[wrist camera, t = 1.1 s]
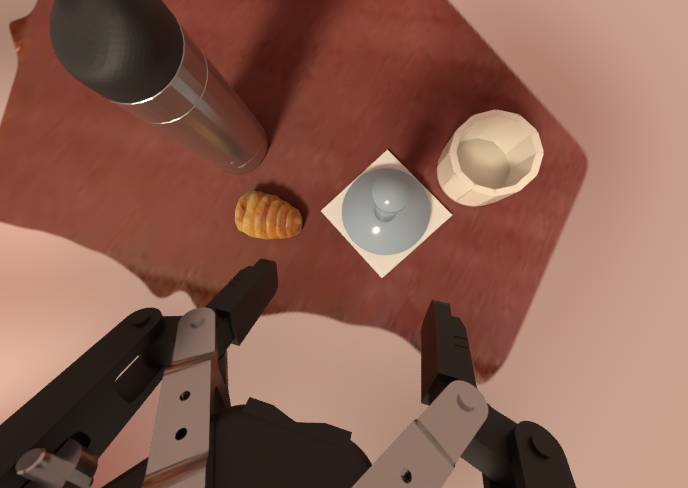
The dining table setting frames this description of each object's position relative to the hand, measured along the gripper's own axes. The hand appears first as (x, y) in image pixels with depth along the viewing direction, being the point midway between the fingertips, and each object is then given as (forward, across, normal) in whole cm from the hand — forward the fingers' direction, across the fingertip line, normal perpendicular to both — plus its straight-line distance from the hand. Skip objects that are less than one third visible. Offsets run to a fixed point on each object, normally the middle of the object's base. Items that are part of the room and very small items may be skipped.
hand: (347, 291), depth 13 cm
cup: (+29, -11, 0) cm, 31 cm away
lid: (+23, 0, +6) cm, 24 cm away
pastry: (+21, +16, +10) cm, 28 cm away
